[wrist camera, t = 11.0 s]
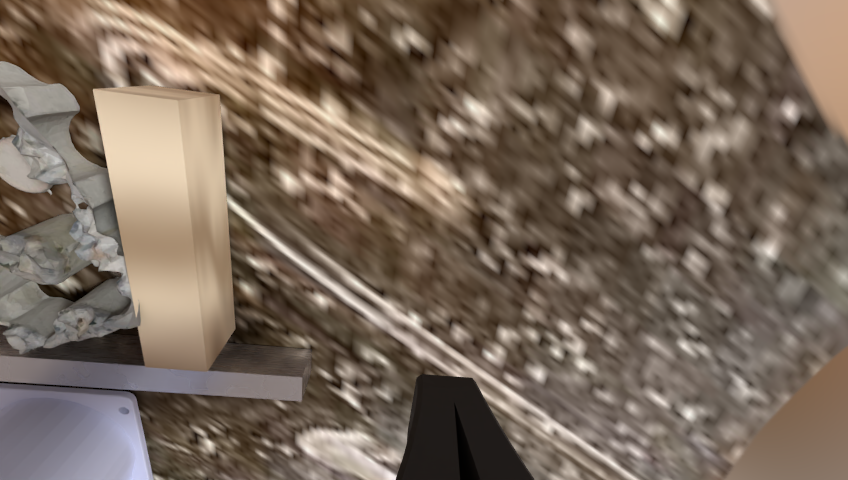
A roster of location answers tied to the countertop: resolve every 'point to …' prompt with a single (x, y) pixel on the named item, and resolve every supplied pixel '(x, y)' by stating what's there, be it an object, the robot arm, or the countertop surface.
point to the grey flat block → (125, 369)
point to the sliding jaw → (171, 219)
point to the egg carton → (57, 226)
